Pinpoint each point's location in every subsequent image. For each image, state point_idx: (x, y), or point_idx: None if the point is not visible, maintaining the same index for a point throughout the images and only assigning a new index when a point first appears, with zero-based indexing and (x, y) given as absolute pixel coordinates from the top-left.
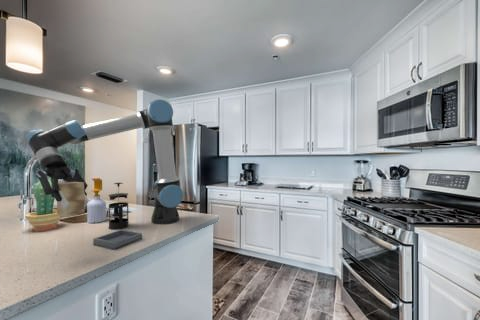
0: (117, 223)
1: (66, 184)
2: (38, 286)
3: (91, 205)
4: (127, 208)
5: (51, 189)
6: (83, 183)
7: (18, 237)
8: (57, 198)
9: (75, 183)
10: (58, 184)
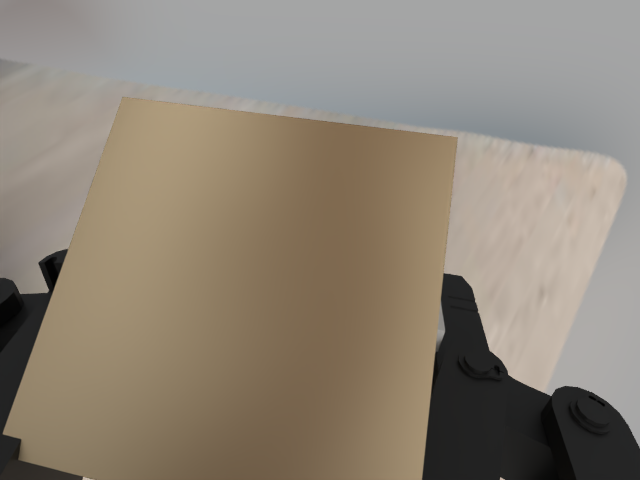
0: None
1: (453, 141)
2: (542, 182)
3: None
4: None
5: (560, 403)
6: (148, 110)
7: None
8: (470, 295)
9: (283, 120)
10: (415, 464)
